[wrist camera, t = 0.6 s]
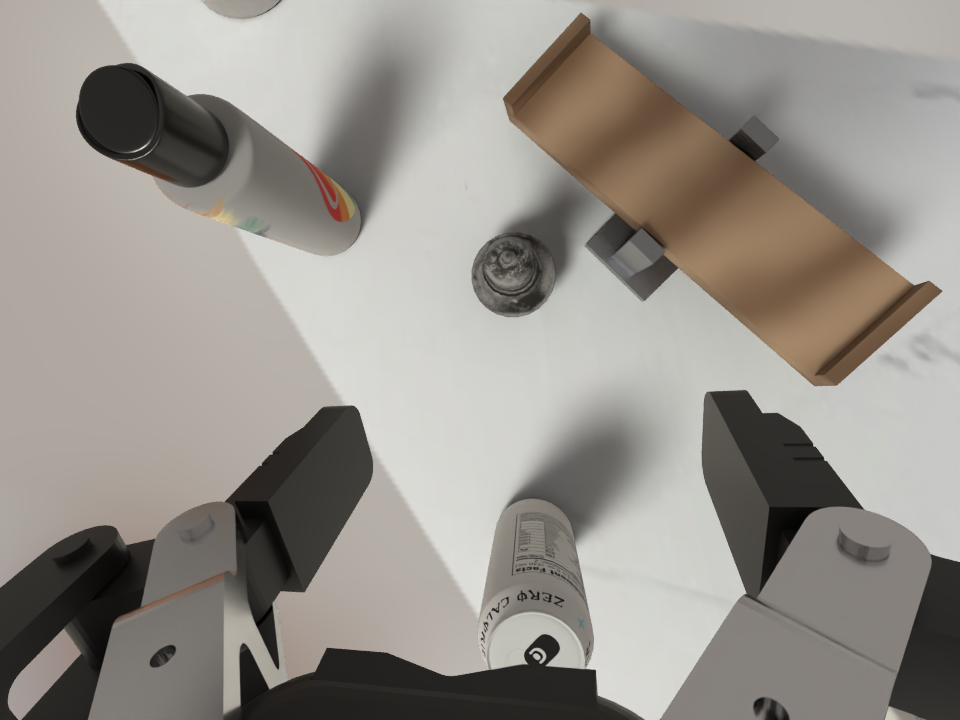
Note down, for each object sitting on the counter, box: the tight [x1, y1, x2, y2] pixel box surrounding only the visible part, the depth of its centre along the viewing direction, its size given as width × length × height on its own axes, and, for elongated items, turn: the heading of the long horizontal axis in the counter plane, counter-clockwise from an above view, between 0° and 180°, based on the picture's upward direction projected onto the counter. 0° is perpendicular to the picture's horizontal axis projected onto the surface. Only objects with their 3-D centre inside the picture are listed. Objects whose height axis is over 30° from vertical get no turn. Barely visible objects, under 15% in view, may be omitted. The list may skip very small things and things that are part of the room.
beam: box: [503, 13, 942, 386], centre depth 29 cm, size 26×7×3 cm, turn 46°
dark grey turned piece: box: [472, 233, 555, 317], centre depth 31 cm, size 6×6×12 cm
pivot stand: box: [585, 116, 779, 301], centre depth 32 cm, size 6×11×7 cm, turn 135°
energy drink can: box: [477, 499, 594, 670], centre depth 31 cm, size 6×6×15 cm
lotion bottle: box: [76, 63, 361, 256], centre depth 28 cm, size 6×6×20 cm
